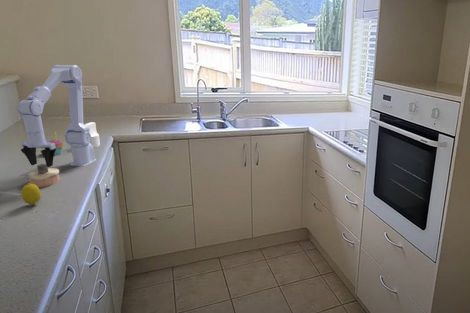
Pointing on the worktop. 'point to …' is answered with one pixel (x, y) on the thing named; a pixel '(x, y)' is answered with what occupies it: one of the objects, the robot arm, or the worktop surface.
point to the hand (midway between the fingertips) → (42, 165)
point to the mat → (37, 169)
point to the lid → (43, 172)
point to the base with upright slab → (93, 134)
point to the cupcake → (57, 145)
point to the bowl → (45, 181)
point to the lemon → (30, 193)
